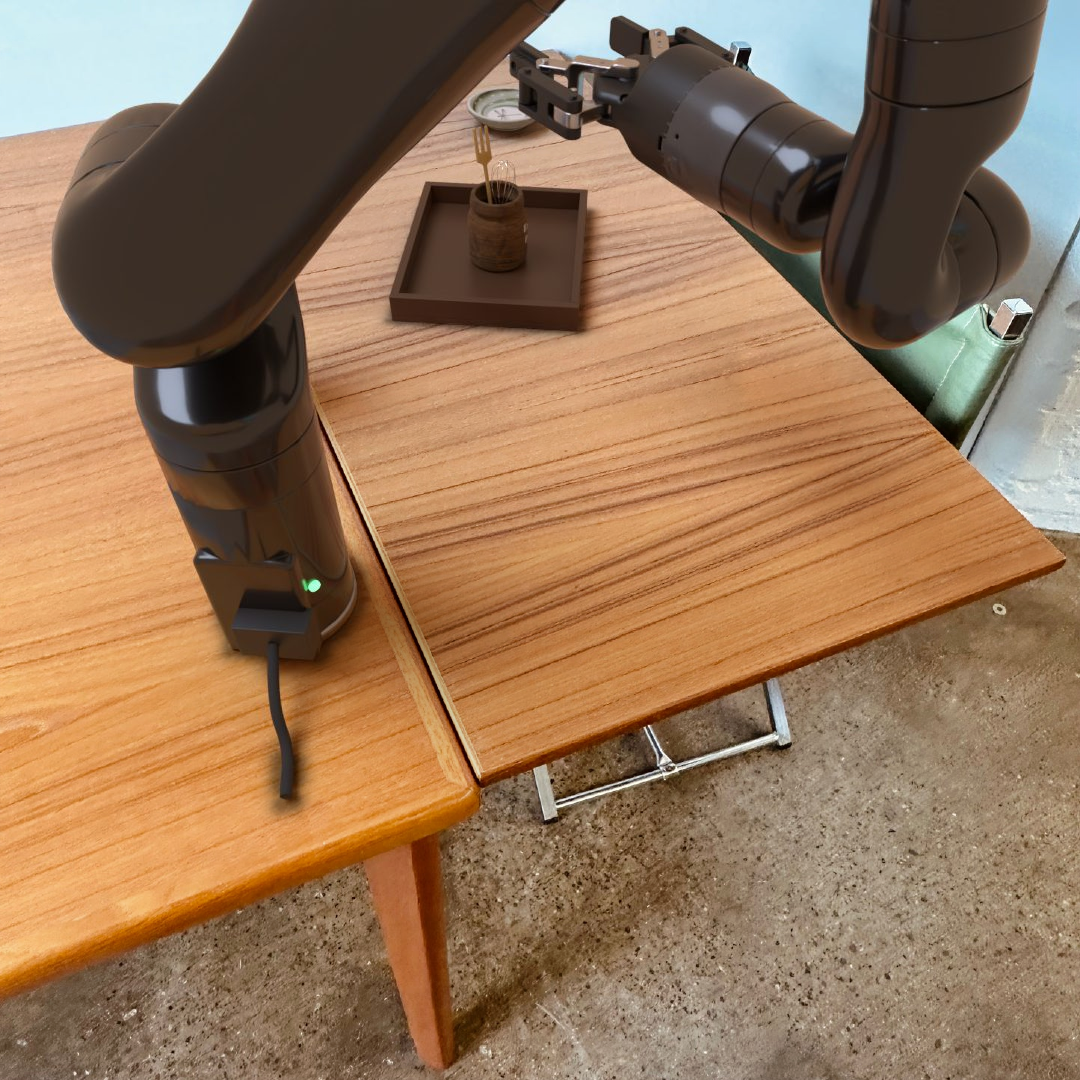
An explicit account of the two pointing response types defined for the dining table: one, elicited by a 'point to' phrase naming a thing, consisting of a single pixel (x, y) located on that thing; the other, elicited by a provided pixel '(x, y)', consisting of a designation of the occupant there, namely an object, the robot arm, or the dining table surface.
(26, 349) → the dining table surface
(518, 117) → the saucer
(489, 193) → the utensil holder
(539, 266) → the tray
